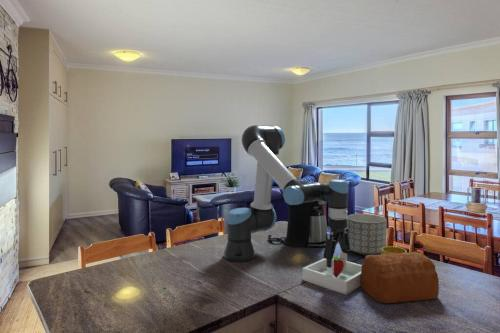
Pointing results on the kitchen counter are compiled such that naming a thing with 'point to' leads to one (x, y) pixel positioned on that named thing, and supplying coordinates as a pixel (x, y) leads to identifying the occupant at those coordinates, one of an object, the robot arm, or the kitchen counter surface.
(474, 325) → the kitchen counter surface
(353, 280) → the serving bin
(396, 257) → the bread
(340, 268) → the strawberry
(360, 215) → the planter
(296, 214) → the coffee maker
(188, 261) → the kitchen counter surface
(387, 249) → the plant pot
